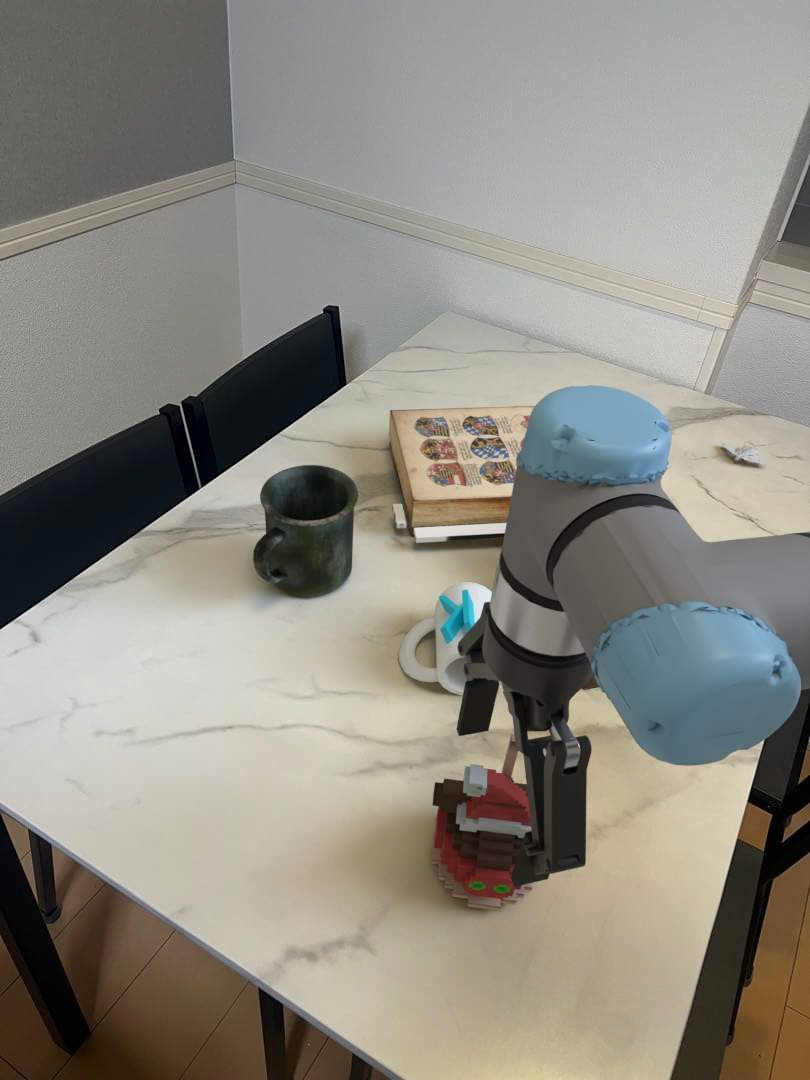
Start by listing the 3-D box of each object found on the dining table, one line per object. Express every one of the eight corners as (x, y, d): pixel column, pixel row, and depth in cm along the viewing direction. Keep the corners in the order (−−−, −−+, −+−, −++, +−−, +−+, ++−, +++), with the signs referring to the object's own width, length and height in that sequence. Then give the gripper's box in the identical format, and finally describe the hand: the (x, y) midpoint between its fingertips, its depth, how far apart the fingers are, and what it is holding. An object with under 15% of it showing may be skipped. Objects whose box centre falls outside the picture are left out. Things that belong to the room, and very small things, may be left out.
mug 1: (373, 564, 99) (377, 487, 92) (297, 633, 90) (295, 553, 82) (305, 529, 104) (304, 453, 96) (226, 591, 94) (217, 511, 86)
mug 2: (482, 550, 87) (490, 631, 78) (504, 606, 93) (514, 687, 84) (382, 576, 90) (378, 657, 81) (409, 629, 96) (408, 710, 86)
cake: (542, 819, 74) (583, 697, 63) (545, 920, 67) (593, 803, 55) (428, 805, 75) (448, 680, 63) (419, 903, 67) (440, 783, 56)
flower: (730, 442, 129) (737, 427, 128) (777, 464, 125) (784, 449, 124) (710, 452, 124) (717, 436, 123) (757, 475, 120) (765, 459, 119)
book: (399, 555, 102) (608, 543, 106) (402, 516, 97) (619, 505, 102) (375, 447, 120) (553, 440, 124) (376, 410, 116) (561, 405, 120)
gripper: (700, 774, 43) (607, 942, 57) (530, 493, 61) (491, 673, 75) (572, 800, 41) (508, 968, 55) (436, 503, 59) (414, 686, 73)
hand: (498, 798), depth 65 cm, fingers open, 13 cm apart
